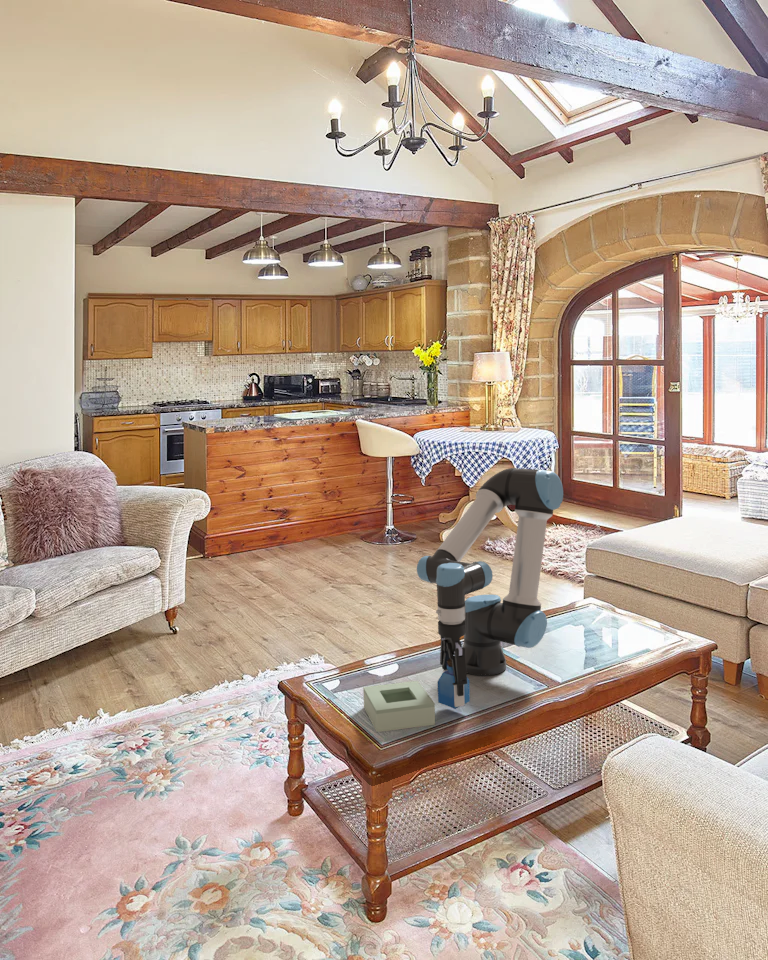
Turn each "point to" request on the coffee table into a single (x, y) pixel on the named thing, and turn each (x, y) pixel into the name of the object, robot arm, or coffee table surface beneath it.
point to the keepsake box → (398, 706)
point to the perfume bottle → (450, 687)
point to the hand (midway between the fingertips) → (453, 698)
